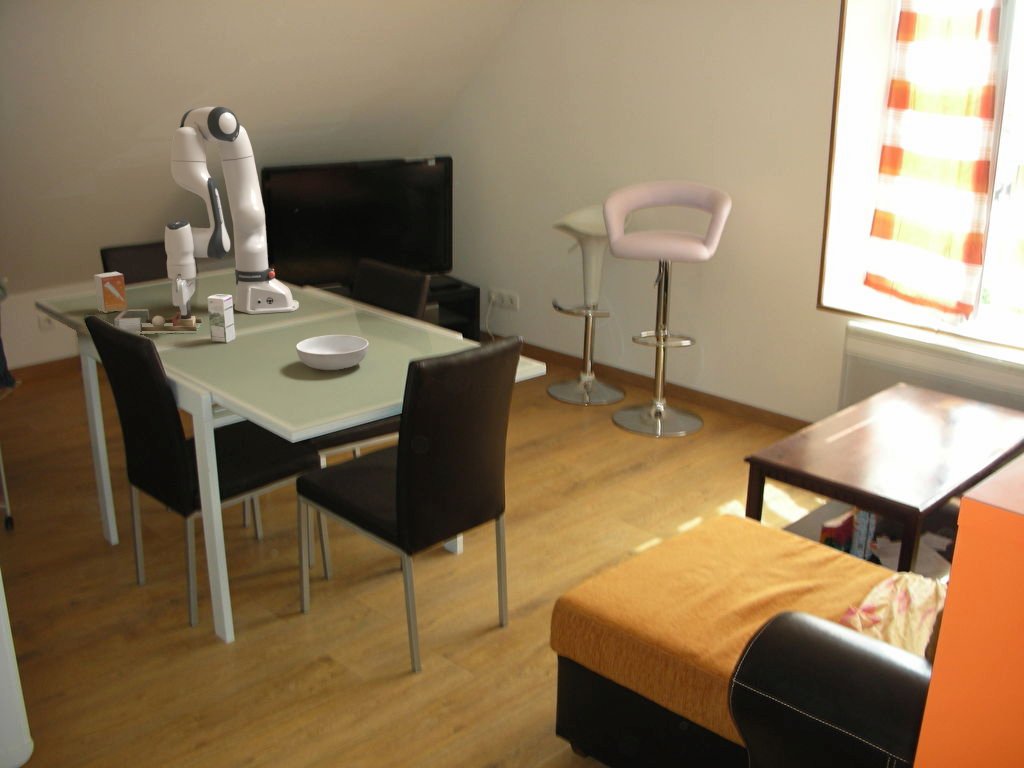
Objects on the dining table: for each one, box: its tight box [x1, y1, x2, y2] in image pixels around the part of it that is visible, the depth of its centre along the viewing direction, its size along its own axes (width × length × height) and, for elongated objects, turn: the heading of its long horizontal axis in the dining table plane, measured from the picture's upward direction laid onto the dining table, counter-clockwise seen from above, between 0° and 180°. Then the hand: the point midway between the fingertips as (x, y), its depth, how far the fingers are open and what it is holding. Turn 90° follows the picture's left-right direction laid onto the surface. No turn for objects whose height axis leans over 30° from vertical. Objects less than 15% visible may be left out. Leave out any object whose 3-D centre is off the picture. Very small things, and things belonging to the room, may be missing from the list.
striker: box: [171, 299, 196, 326], centre depth 344 cm, size 6×8×9 cm
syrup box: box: [206, 293, 236, 344], centre depth 330 cm, size 6×6×14 cm
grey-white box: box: [113, 308, 150, 332], centre depth 343 cm, size 8×13×5 cm, turn 7°
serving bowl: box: [295, 334, 370, 371], centre depth 306 cm, size 21×21×7 cm
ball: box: [151, 315, 165, 327], centre depth 344 cm, size 4×4×4 cm
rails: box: [142, 317, 203, 332], centre depth 345 cm, size 18×11×2 cm, turn 97°
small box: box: [93, 271, 128, 311], centre depth 365 cm, size 8×6×13 cm
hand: (185, 313), depth 344 cm, fingers closed on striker, 3 cm apart
